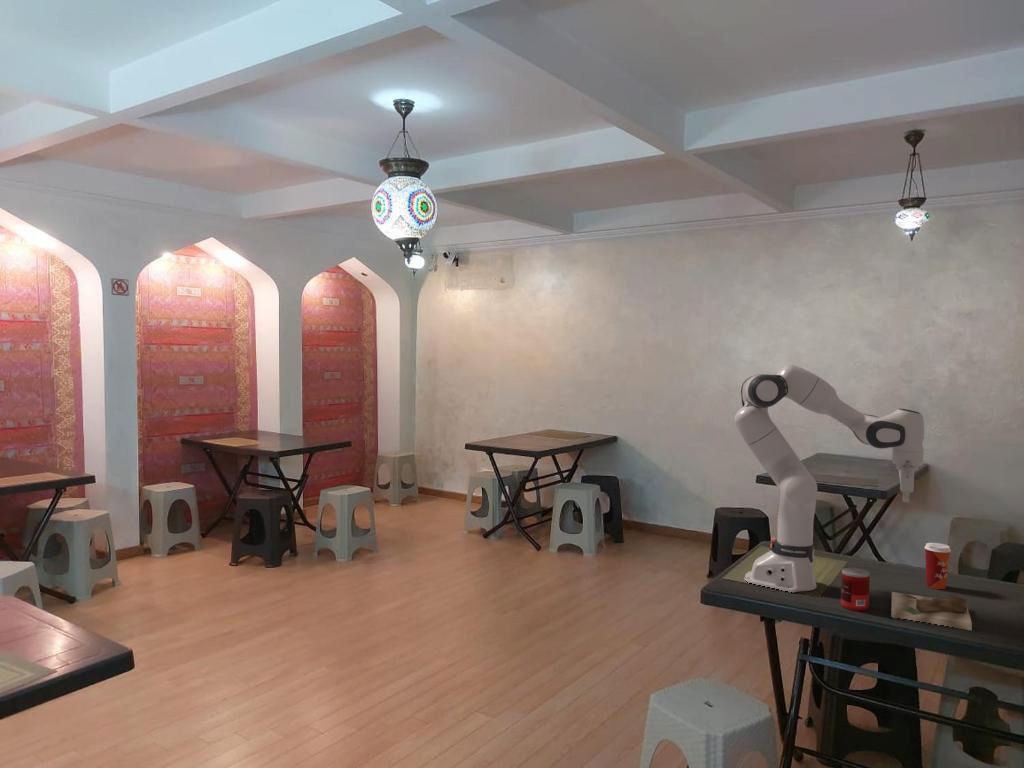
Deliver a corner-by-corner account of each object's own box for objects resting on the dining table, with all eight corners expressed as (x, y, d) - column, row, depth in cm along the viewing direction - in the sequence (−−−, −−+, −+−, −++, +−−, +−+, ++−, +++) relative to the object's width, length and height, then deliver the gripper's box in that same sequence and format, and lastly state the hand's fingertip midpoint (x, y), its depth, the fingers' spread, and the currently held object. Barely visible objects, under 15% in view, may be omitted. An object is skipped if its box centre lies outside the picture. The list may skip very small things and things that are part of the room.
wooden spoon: (959, 606, 218) (959, 594, 218) (971, 612, 213) (971, 600, 213) (912, 607, 217) (913, 595, 217) (923, 613, 212) (924, 601, 212)
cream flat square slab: (891, 617, 215) (891, 610, 215) (891, 598, 232) (891, 591, 232) (971, 630, 206) (972, 623, 206) (965, 609, 223) (966, 602, 223)
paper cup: (942, 592, 238) (944, 549, 237) (918, 585, 244) (920, 544, 243) (953, 587, 243) (955, 546, 242) (929, 581, 249) (931, 540, 248)
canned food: (872, 607, 224) (873, 571, 223) (862, 613, 218) (863, 577, 218) (846, 600, 229) (848, 565, 229) (836, 606, 224) (837, 571, 223)
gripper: (919, 464, 227) (917, 508, 228) (917, 455, 245) (916, 497, 246) (896, 462, 230) (894, 506, 231) (896, 454, 248) (894, 495, 249)
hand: (905, 501), depth 238 cm, fingers closed
